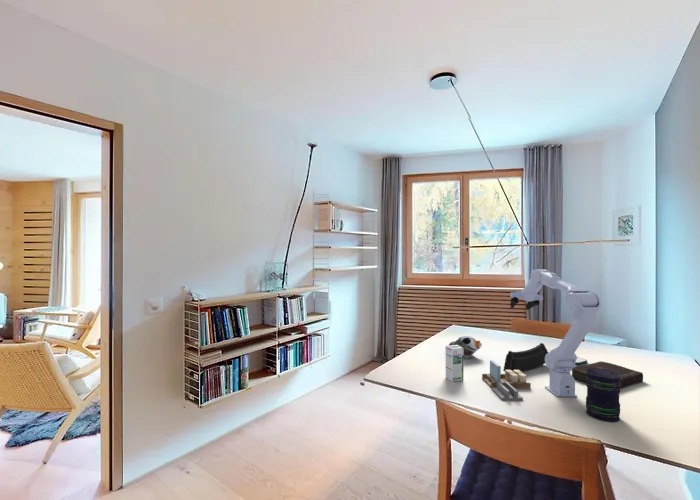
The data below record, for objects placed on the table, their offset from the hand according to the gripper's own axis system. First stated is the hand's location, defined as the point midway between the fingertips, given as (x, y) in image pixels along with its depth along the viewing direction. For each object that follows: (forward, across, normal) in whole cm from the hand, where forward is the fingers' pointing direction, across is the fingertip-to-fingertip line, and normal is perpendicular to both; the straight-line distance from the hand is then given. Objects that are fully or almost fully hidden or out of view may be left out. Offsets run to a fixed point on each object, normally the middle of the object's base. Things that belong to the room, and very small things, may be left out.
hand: (519, 307), depth 176 cm
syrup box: (+15, +32, +33) cm, 48 cm away
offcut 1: (+8, +10, +35) cm, 37 cm away
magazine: (+21, -7, +21) cm, 30 cm away
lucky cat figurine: (+37, +16, +7) cm, 41 cm away
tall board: (+9, +17, +35) cm, 40 cm away
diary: (+9, -34, +29) cm, 46 cm away
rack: (+9, +12, +35) cm, 38 cm away
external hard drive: (+31, -33, +7) cm, 46 cm away
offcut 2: (+8, +6, +34) cm, 36 cm away
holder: (+1, +17, +44) cm, 47 cm away
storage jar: (-12, -8, +56) cm, 58 cm away
